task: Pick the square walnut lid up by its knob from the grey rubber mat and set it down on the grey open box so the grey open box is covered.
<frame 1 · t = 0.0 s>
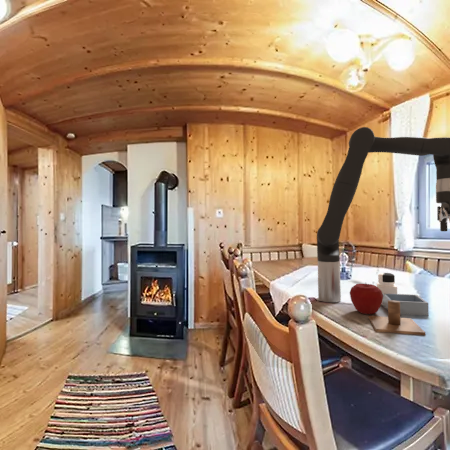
hand: (448, 231, 115), 29 cm above the table, fingers open, 8 cm apart
medicine bottle: (386, 302, 123), on the table
mat: (394, 327, 93), on the table
apple: (366, 314, 108), on the table
lid: (394, 325, 93), point 1 cm above the table, touching mat
grey open box: (404, 311, 110), on the table
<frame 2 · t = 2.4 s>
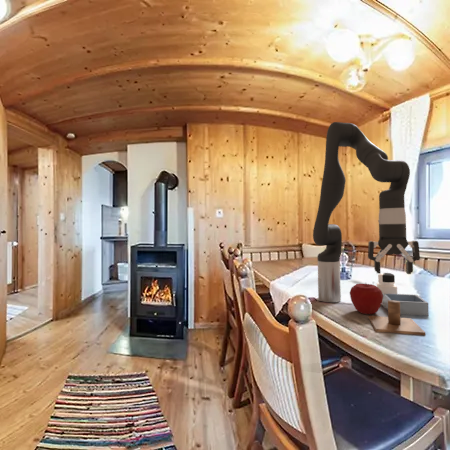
hand: (393, 273, 93), 17 cm above the table, fingers open, 8 cm apart
nothing on the table moved.
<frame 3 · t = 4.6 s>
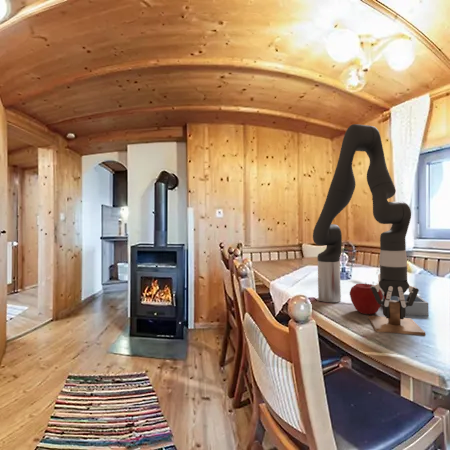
hand: (394, 317, 93), 3 cm above the table, fingers closed on lid, 3 cm apart
lid: (394, 325, 93), point 1 cm above the table, touching gripper, mat
everything else where it was.
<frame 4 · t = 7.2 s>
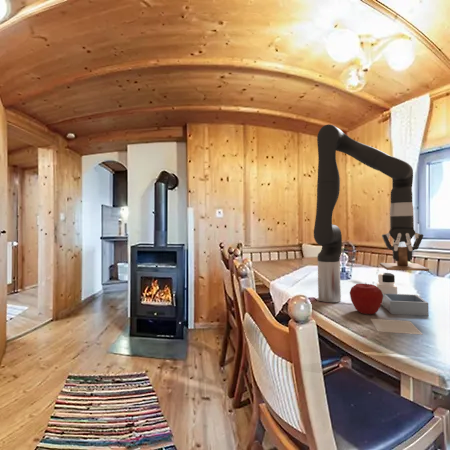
hand: (402, 260, 110), 19 cm above the table, fingers closed on lid, 3 cm apart
lid: (402, 267, 110), point 16 cm above the table, touching gripper
everything else where it was.
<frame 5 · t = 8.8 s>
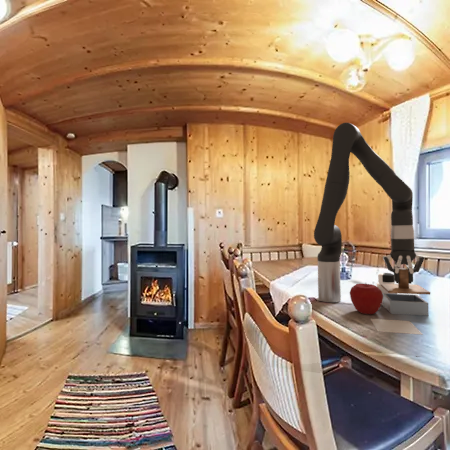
hand: (403, 282, 110), 11 cm above the table, fingers closed on lid, 3 cm apart
lid: (403, 289, 110), point 8 cm above the table, touching gripper
everything else where it was.
when the fingers open (9 cm above the table, at t = 9.9 s): lid drops 1 cm, resting on grey open box.
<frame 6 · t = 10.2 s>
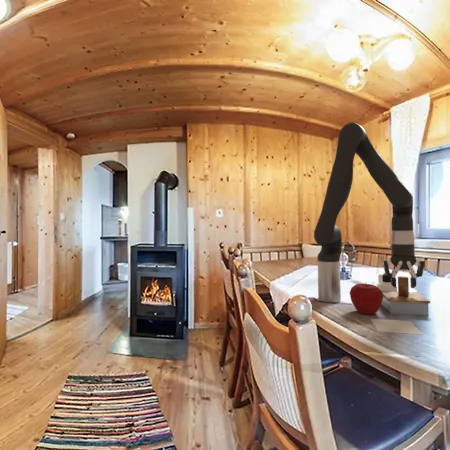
hand: (403, 287, 110), 9 cm above the table, fingers open, 5 cm apart
lid: (403, 297, 110), point 5 cm above the table, touching grey open box
everything else where it was.
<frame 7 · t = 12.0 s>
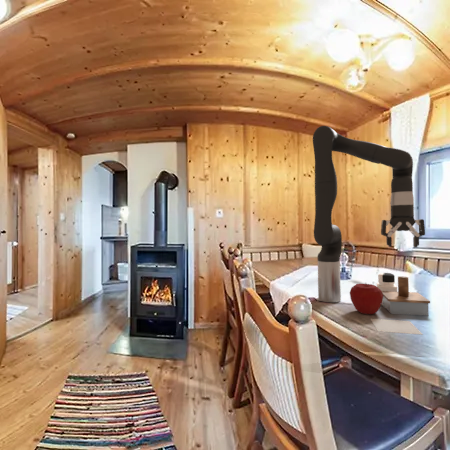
hand: (402, 246, 111), 24 cm above the table, fingers open, 8 cm apart
nothing on the table moved.
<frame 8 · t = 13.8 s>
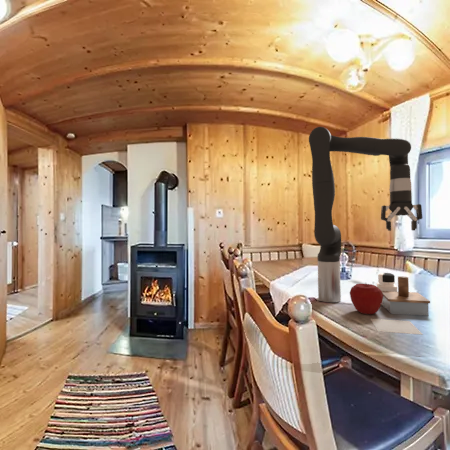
hand: (401, 230, 118), 30 cm above the table, fingers open, 8 cm apart
nothing on the table moved.
at the end: lid 0.1 cm off-centre on the grey open box, point 5.0 cm above the grey open box's base; lid tilted 0°; the gripper is holding nothing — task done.
